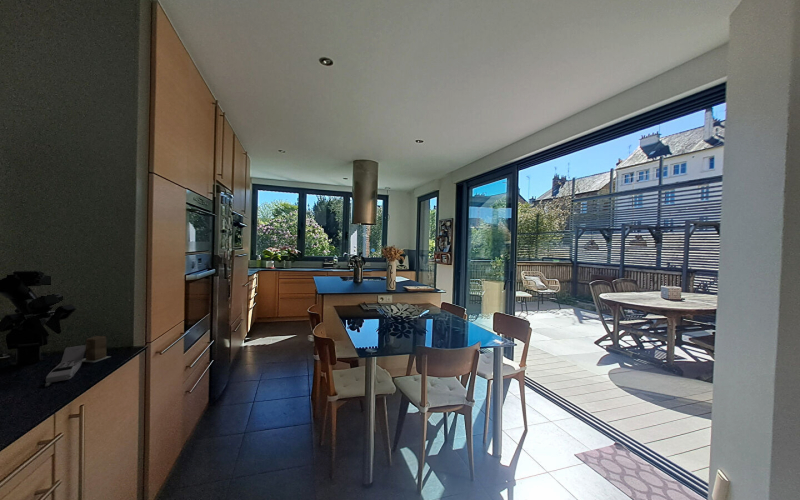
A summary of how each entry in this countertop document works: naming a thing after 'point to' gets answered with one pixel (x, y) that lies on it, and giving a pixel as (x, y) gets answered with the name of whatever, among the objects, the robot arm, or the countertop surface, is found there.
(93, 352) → the walnut block
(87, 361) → the grey mat
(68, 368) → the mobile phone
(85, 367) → the countertop surface
